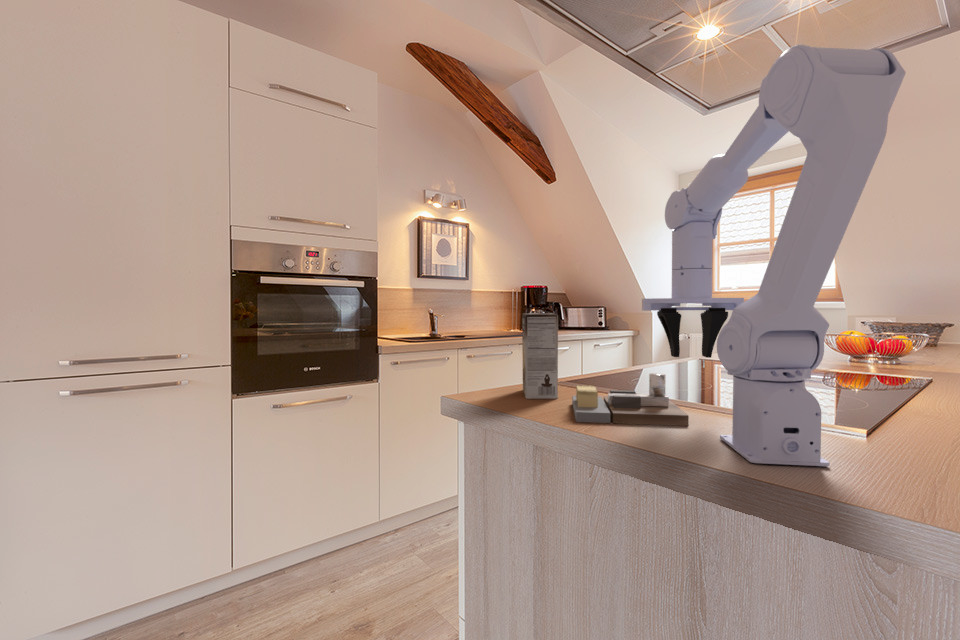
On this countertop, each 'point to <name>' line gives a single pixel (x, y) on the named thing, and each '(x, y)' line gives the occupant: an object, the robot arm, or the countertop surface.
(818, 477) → the countertop surface
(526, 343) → the coffee box
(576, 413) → the jamb keeper
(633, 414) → the door panel
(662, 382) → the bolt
